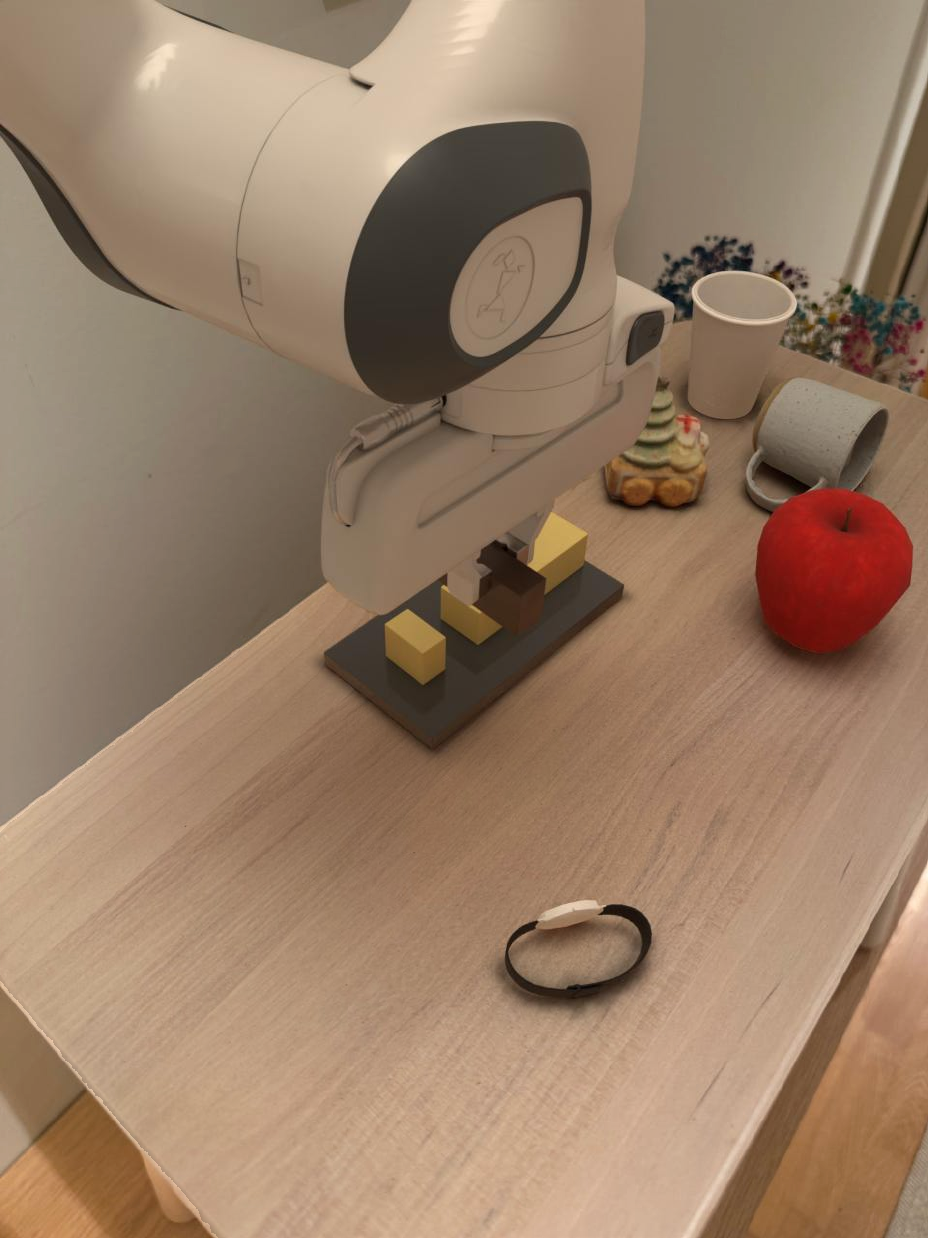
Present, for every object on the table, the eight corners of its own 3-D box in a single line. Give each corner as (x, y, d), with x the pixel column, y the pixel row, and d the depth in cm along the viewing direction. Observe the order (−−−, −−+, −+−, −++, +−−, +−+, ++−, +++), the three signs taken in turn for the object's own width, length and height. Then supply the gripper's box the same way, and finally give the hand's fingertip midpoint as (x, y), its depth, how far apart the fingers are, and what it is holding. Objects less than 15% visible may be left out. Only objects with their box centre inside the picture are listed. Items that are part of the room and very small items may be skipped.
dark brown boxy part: (516, 637, 55) (521, 596, 53) (362, 527, 61) (361, 486, 59) (541, 618, 56) (547, 577, 54) (388, 512, 62) (387, 471, 60)
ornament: (693, 462, 86) (717, 353, 79) (709, 510, 82) (737, 400, 74) (595, 463, 85) (611, 354, 78) (607, 512, 81) (625, 402, 74)
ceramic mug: (783, 431, 89) (806, 351, 84) (873, 472, 85) (903, 391, 80) (715, 490, 84) (735, 409, 78) (808, 537, 80) (835, 455, 74)
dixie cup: (681, 366, 96) (701, 262, 89) (774, 384, 94) (803, 280, 87) (663, 416, 90) (683, 309, 83) (761, 437, 88) (791, 329, 81)
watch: (628, 906, 58) (638, 870, 55) (660, 986, 55) (672, 953, 52) (492, 936, 56) (495, 901, 54) (516, 1020, 53) (521, 988, 51)
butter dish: (432, 750, 65) (432, 738, 64) (324, 664, 70) (323, 652, 69) (622, 596, 75) (624, 584, 74) (516, 530, 79) (517, 518, 79)
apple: (869, 701, 68) (926, 578, 61) (723, 657, 71) (759, 534, 63) (887, 602, 75) (940, 480, 67) (752, 565, 77) (788, 443, 70)
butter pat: (422, 685, 67) (422, 653, 65) (385, 656, 69) (384, 623, 66) (445, 669, 68) (446, 637, 66) (408, 640, 70) (407, 608, 67)
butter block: (478, 646, 69) (479, 613, 67) (439, 618, 71) (440, 586, 69) (584, 565, 75) (588, 533, 73) (546, 542, 77) (550, 510, 75)
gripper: (383, 480, 39) (389, 718, 49) (697, 295, 50) (651, 520, 60) (274, 410, 42) (301, 647, 52) (593, 249, 53) (565, 471, 63)
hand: (490, 578), depth 56 cm, fingers closed on dark brown boxy part, 2 cm apart
